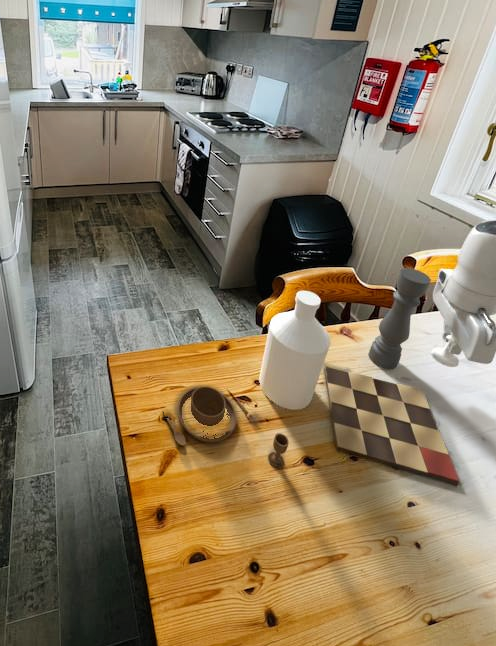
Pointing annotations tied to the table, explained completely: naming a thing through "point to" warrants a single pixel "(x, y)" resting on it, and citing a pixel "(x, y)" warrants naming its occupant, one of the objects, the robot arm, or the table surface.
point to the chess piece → (445, 354)
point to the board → (387, 425)
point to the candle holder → (398, 318)
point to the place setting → (219, 419)
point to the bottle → (294, 354)
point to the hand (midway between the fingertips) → (450, 345)
